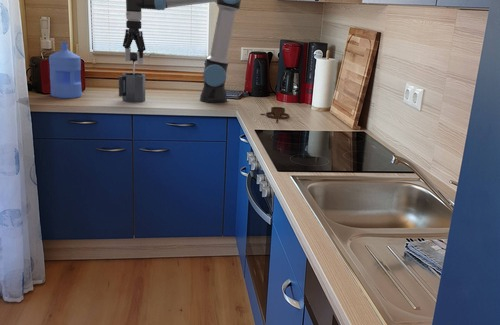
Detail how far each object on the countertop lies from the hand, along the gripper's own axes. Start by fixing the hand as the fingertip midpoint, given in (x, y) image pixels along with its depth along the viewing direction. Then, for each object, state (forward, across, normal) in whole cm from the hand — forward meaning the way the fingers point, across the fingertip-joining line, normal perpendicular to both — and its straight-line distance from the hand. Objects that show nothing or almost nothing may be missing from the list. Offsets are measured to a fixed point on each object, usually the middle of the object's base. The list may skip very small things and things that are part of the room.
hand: (133, 62), depth 264 cm
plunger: (+15, 0, 0) cm, 15 cm away
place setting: (+21, +62, +44) cm, 79 cm away
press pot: (+20, 0, -1) cm, 20 cm away
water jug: (+20, -24, -27) cm, 41 cm away
